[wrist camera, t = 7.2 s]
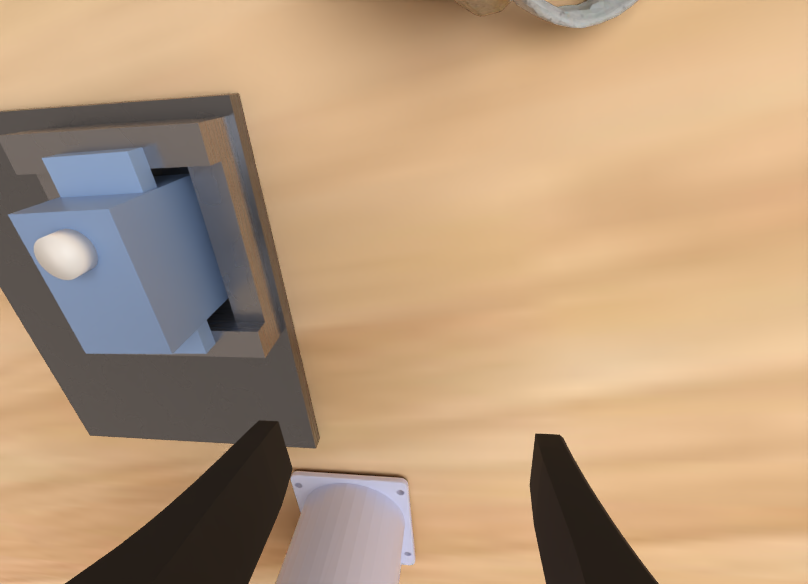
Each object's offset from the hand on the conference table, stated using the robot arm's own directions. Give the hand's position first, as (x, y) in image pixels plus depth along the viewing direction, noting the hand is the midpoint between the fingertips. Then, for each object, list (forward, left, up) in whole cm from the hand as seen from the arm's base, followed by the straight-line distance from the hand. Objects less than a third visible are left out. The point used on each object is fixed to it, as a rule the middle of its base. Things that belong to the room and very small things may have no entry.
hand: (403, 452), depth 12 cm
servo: (+3, +12, -9) cm, 15 cm away
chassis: (-1, +16, -10) cm, 18 cm away
